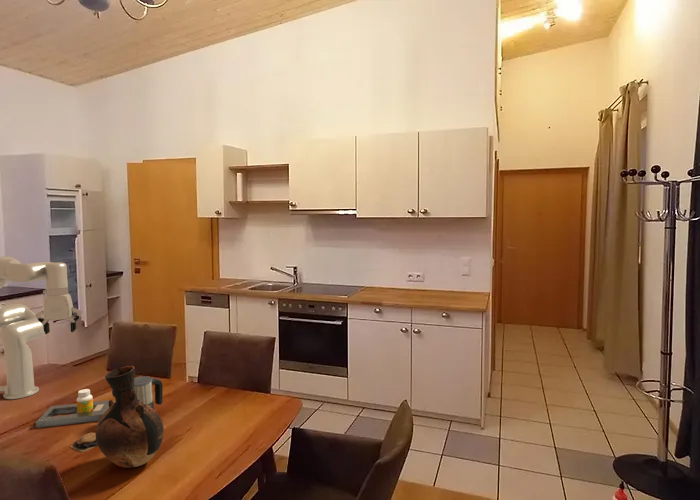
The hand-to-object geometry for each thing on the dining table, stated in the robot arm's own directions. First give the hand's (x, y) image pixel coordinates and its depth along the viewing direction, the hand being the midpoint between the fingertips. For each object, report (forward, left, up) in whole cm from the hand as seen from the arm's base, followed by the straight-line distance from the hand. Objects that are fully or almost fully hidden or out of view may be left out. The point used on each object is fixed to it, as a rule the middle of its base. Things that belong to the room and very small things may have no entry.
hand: (60, 332), depth 192 cm
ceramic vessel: (+39, -64, -28) cm, 80 cm away
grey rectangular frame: (+11, -22, -28) cm, 37 cm away
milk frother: (+34, -27, -29) cm, 52 cm away
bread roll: (+23, -47, -29) cm, 59 cm away
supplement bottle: (+14, -22, -28) cm, 39 cm away
